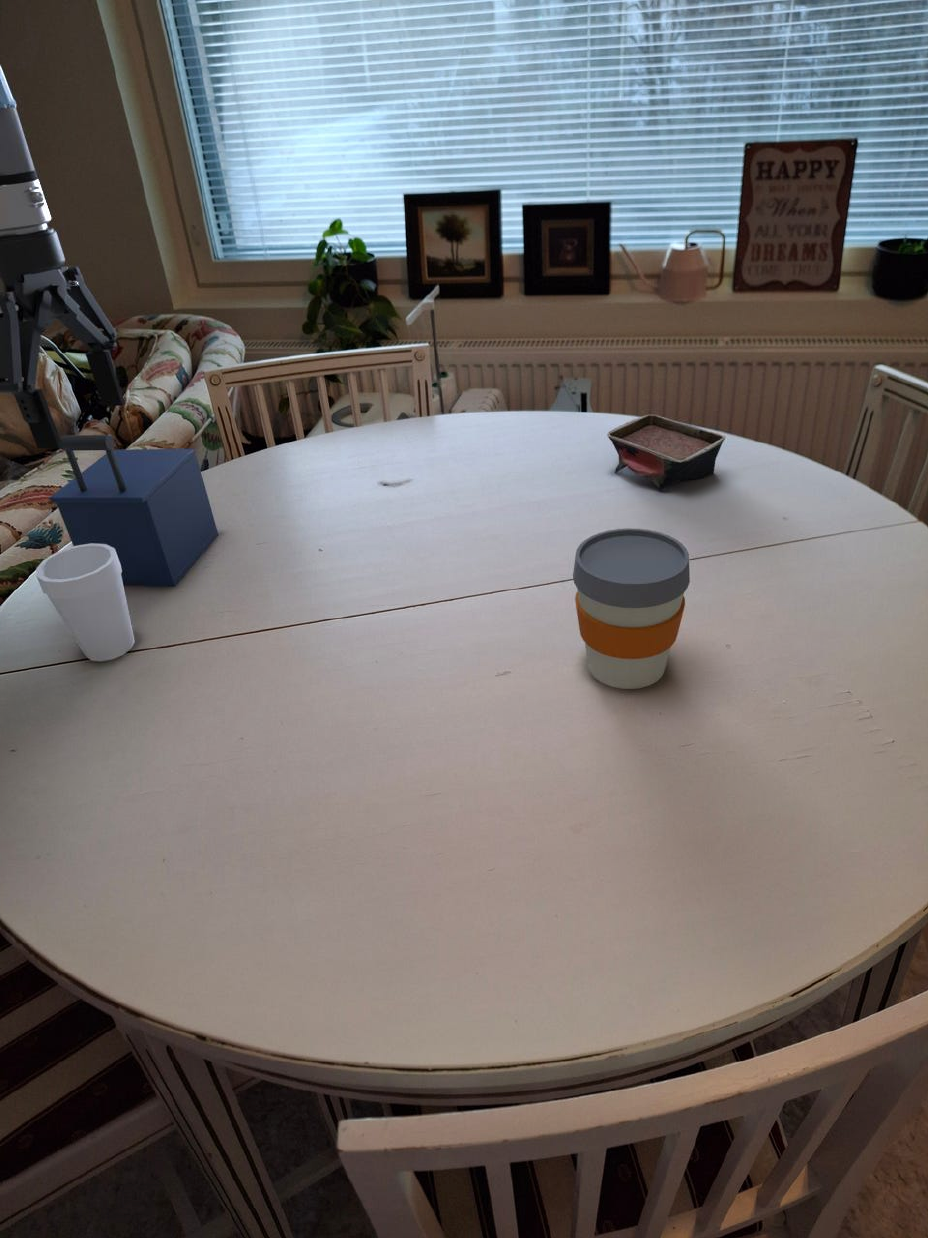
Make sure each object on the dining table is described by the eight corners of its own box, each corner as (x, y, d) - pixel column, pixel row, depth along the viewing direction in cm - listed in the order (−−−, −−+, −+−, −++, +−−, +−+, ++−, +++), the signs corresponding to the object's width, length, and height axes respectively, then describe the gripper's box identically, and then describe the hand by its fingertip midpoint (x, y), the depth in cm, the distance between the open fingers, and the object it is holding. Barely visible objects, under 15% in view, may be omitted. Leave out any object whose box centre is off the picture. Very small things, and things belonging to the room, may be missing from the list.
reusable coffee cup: (551, 673, 94) (550, 563, 86) (608, 623, 102) (612, 517, 94) (646, 714, 87) (654, 598, 79) (700, 656, 95) (712, 545, 87)
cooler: (174, 586, 118) (146, 500, 110) (88, 584, 120) (54, 500, 112) (218, 534, 131) (196, 453, 123) (139, 533, 133) (112, 454, 125)
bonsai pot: (663, 512, 130) (679, 457, 123) (592, 464, 141) (602, 410, 134) (724, 492, 136) (741, 438, 130) (651, 447, 147) (664, 396, 141)
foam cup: (160, 629, 109) (131, 545, 101) (121, 671, 101) (87, 584, 94) (99, 624, 111) (66, 541, 103) (57, 665, 103) (18, 579, 96)
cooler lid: (143, 502, 109) (123, 441, 104) (51, 502, 112) (27, 442, 107) (196, 453, 123) (180, 397, 118) (112, 454, 125) (94, 399, 120)
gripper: (-34, 251, 73) (50, 468, 85) (111, 209, 93) (162, 389, 105) (-104, 254, 74) (-12, 467, 86) (53, 212, 94) (110, 390, 106)
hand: (84, 425), depth 96 cm, fingers open, 13 cm apart
